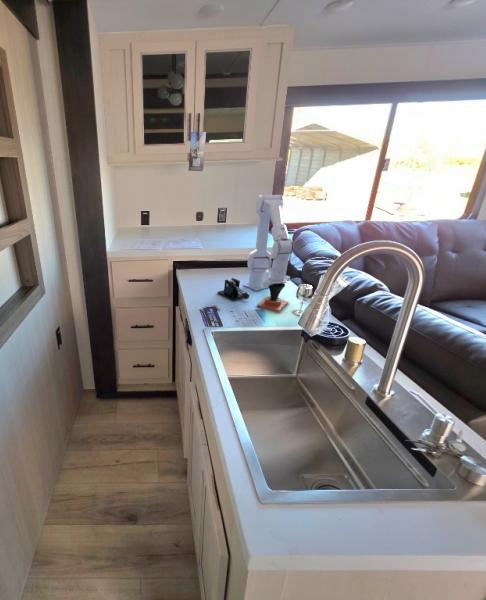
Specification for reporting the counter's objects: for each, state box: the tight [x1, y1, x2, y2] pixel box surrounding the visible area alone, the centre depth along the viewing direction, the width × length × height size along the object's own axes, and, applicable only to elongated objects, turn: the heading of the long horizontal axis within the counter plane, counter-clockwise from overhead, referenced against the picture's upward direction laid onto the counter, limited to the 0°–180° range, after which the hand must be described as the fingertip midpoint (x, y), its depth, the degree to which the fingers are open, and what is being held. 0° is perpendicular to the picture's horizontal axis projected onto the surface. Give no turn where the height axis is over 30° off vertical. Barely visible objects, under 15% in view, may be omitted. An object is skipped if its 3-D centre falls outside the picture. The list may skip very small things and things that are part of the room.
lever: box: [229, 279, 250, 300], centre depth 141 cm, size 12×3×3 cm, turn 31°
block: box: [257, 295, 289, 313], centre depth 136 cm, size 12×9×3 cm
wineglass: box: [293, 283, 313, 316], centre depth 127 cm, size 6×6×12 cm
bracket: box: [217, 277, 244, 302], centre depth 144 cm, size 10×7×8 cm
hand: (273, 299), depth 135 cm, fingers closed, pressing on start button
